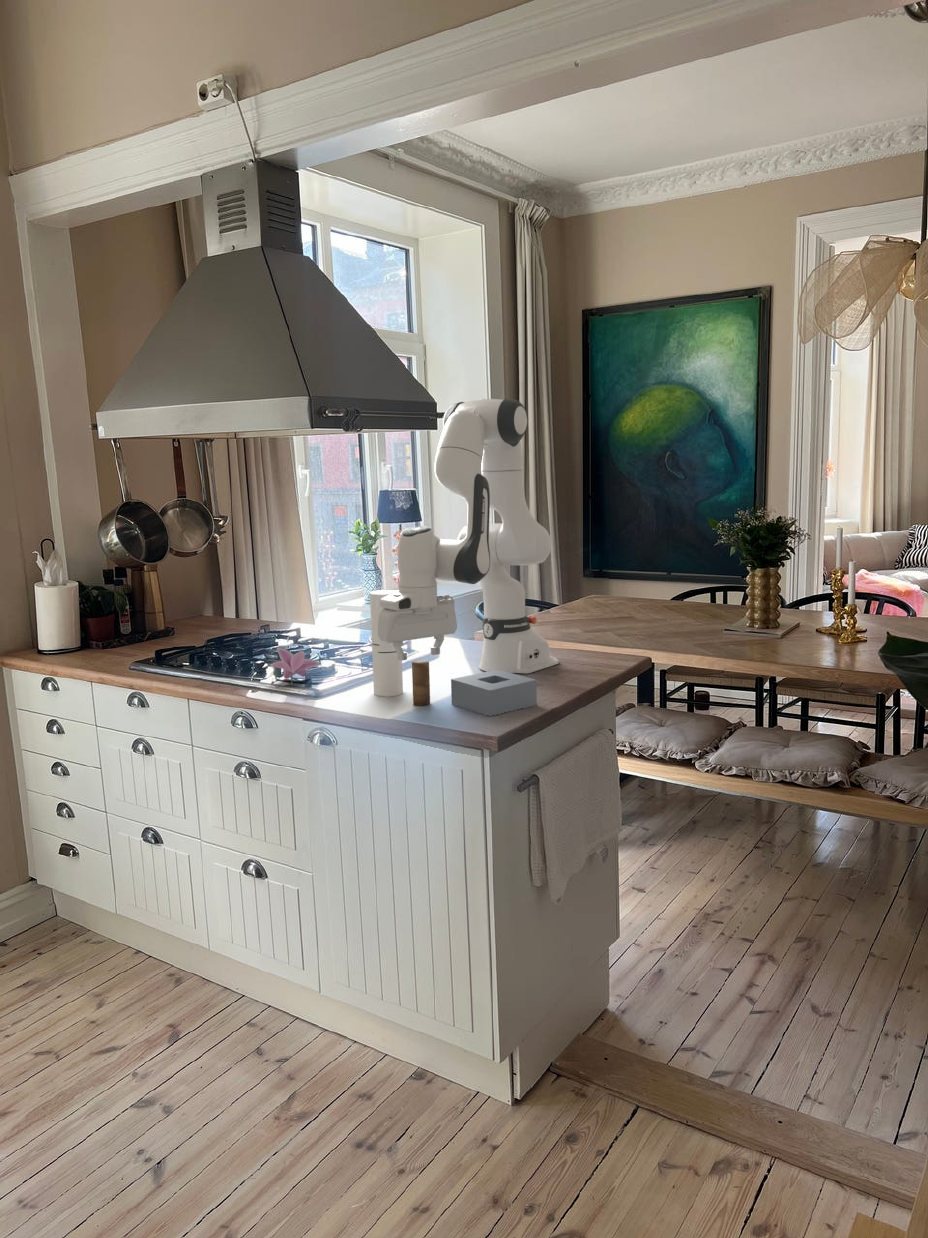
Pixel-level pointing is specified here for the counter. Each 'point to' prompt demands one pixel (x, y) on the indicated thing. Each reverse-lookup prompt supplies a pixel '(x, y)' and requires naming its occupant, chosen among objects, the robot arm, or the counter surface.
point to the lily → (293, 663)
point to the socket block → (494, 692)
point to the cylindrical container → (384, 654)
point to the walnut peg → (421, 683)
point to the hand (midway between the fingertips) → (419, 657)
